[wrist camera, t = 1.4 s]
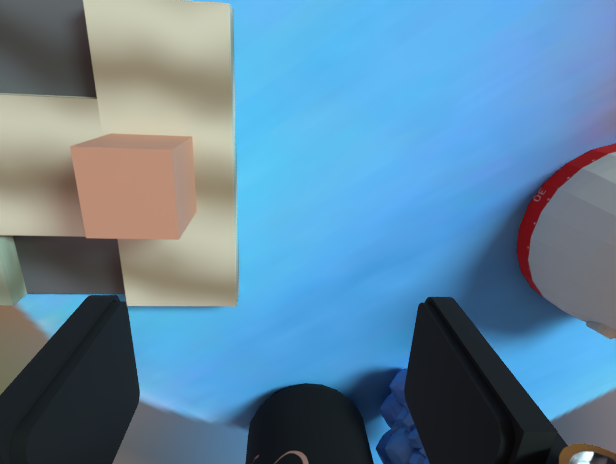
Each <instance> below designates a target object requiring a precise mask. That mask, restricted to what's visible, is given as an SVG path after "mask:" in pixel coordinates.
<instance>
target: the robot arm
mask: <svg viewBox="0 0 616 464" xmlns="http://www.w3.org/2000/svg"><path fill="white" fill-rule="evenodd" d="M404 394H405V400H406V403H407V406H408V409H409V411H410V414H411V416H412V419H413V422H414V424H415V427H416V429H417V432H418V435H419V437H420V440H421V442H422V445H423V447H424V450H425V453H426V455H427V458H428V460H429V463H430V464H616V454H615V453H613V452H610V451H608V450H605V449H603V448H600V447H597V446H593V445H588V444H572V445H570V446H568V445H567V444H566V443H565V441H564V440H563V439H562V438H561V436H560V435H559V434H558V433H557V430H556V429H555V428H554V426H553V425H552V424H551V422H550V421H549V420H548V419H547V417H546V416H545V415H544V414H543V412H542V411H541V410H540V408H539V407H538V406H537V405H536V403H535V402H534V401H533V400H532V398H531V397H530V396H529V394H528V393H527V392H526V391H525V389H524V388H523V387H522V385H521V384H520V383H519V382H518V380H517V379H516V378H515V377H514V375H513V374H512V373H511V371H510V370H509V369H508V368H507V366H506V365H505V364H504V362H503V361H502V360H501V359H500V357H499V356H498V355H497V354H496V352H495V351H494V350H493V348H492V347H491V346H490V345H489V343H488V342H487V341H486V340H485V338H484V337H483V336H482V334H481V333H480V332H479V331H478V329H477V328H476V327H475V325H474V324H473V323H472V322H471V320H470V319H469V318H468V317H467V315H466V314H465V313H464V311H463V310H462V309H461V308H460V306H459V305H458V304H457V302H456V301H455V300H454V299H453V298H452V297H428V298H427V299H426V301H425V303H420V304H419V307H418V311H417V317H416V323H415V329H414V335H413V340H412V346H411V352H410V358H409V363H408V369H407V375H406V381H405V387H404ZM139 395H140V391H139V383H138V376H137V369H136V362H135V356H134V349H133V342H132V335H131V328H130V321H129V314H128V308H127V304H126V302H120V300H119V298H118V297H117V296H116V295H90V296H88V297H87V298H86V299H85V300H84V301H83V303H82V304H81V305H80V306H79V307H78V308H77V309H76V310H75V312H74V313H73V314H72V315H71V316H70V317H69V318H68V319H67V321H66V322H65V323H64V324H63V325H62V326H61V327H60V329H59V330H58V331H57V332H56V333H55V334H54V335H53V336H52V338H51V339H50V340H49V341H48V342H47V343H46V344H45V346H44V347H43V348H42V349H41V350H40V351H39V352H38V353H37V355H36V356H35V357H34V358H33V359H32V360H31V361H30V362H29V363H28V365H27V366H26V367H25V368H24V369H23V370H22V371H21V373H20V374H19V375H18V376H17V377H16V378H15V379H14V381H13V382H12V383H11V384H10V385H9V386H8V387H7V388H6V390H5V391H4V392H3V393H2V394H1V395H0V464H112V463H113V461H114V458H115V456H116V454H117V451H118V449H119V447H120V444H121V442H122V440H123V438H124V436H125V433H126V431H127V429H128V426H129V424H130V422H131V420H132V417H133V415H134V413H135V410H136V408H137V405H138V402H139Z"/></svg>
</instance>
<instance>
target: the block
mask: <svg viewBox="0 0 616 464" xmlns="http://www.w3.org/2000/svg"><path fill="white" fill-rule="evenodd" d="M70 150H71V155H72V161H73V167H74V172H75V178H76V184H77V189H78V195H79V201H80V207H81V212H82V218H83V224H84V229H85V235H86V238H105V239H164V240H179V239H180V237H181V236H182V234H183V233H184V231H185V229H186V228H187V226H188V225H189V223H190V221H191V220H192V218H193V217H194V215H195V214H196V212H197V205H196V189H195V173H194V157H193V141H192V136H168V135H141V134H114V133H110V134H107V135H104V136H101V137H98V138H95V139H91V140H88V141H85V142H82V143H79V144H76V145H73V146H70Z"/></svg>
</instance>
